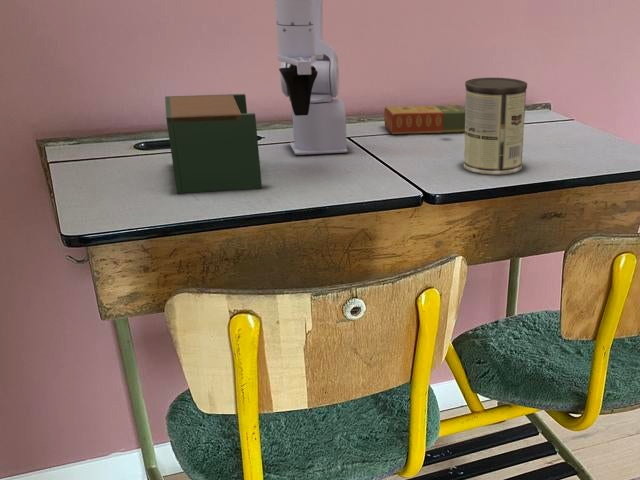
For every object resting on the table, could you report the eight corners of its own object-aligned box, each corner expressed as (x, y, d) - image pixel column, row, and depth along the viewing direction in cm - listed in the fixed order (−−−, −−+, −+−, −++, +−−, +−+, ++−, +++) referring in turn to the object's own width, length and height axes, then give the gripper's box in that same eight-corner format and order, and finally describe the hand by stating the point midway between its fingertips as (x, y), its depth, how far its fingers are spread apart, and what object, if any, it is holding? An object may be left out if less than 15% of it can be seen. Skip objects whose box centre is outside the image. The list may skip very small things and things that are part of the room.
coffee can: (472, 157, 148) (475, 75, 141) (528, 163, 145) (533, 79, 138) (454, 171, 139) (457, 84, 133) (513, 177, 137) (518, 89, 130)
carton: (384, 126, 169) (383, 105, 167) (458, 124, 173) (459, 103, 171) (392, 135, 162) (392, 113, 160) (469, 132, 166) (470, 110, 164)
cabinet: (251, 161, 142) (244, 93, 137) (262, 188, 128) (255, 114, 123) (174, 165, 139) (164, 96, 133) (177, 193, 125) (166, 117, 119)
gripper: (329, 29, 121) (333, 122, 128) (313, 18, 133) (318, 105, 140) (281, 29, 119) (288, 124, 126) (269, 19, 131) (276, 106, 138)
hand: (301, 114), depth 133 cm, fingers closed
